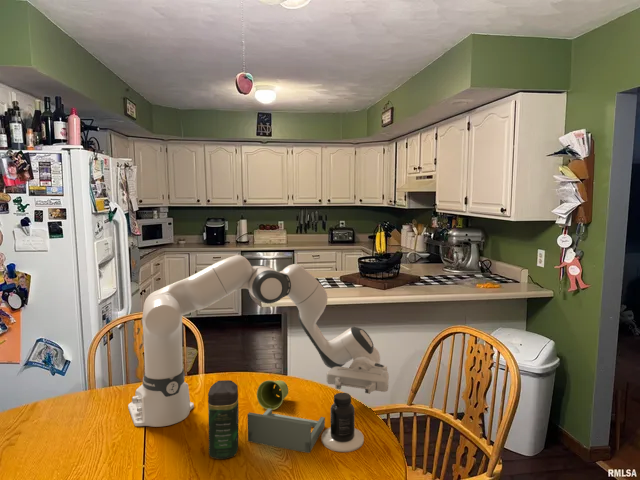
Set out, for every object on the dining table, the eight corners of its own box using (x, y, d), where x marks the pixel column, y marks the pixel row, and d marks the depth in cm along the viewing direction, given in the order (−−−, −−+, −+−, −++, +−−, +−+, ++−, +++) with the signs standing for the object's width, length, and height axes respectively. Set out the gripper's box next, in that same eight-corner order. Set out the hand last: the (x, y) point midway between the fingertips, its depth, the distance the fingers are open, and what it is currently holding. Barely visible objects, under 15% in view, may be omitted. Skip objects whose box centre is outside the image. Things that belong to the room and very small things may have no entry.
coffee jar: (237, 459, 116) (236, 392, 114) (207, 461, 115) (205, 393, 113) (240, 439, 125) (239, 376, 124) (211, 441, 125) (210, 378, 123)
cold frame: (268, 417, 138) (268, 392, 137) (324, 426, 133) (324, 401, 132) (247, 441, 125) (247, 414, 124) (309, 453, 119) (309, 424, 118)
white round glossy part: (312, 439, 126) (312, 435, 126) (342, 424, 134) (342, 421, 134) (342, 457, 117) (342, 453, 117) (372, 440, 125) (372, 437, 125)
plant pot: (288, 408, 150) (277, 415, 141) (264, 396, 153) (252, 402, 145) (296, 382, 150) (286, 387, 141) (272, 371, 153) (262, 375, 145)
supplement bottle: (357, 433, 127) (358, 393, 126) (349, 445, 121) (349, 403, 120) (335, 428, 130) (336, 388, 129) (326, 439, 124) (326, 398, 123)
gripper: (332, 359, 152) (320, 374, 139) (391, 366, 146) (385, 383, 133) (332, 376, 153) (320, 393, 139) (391, 385, 146) (384, 403, 133)
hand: (352, 388), depth 136 cm, fingers open, 8 cm apart
